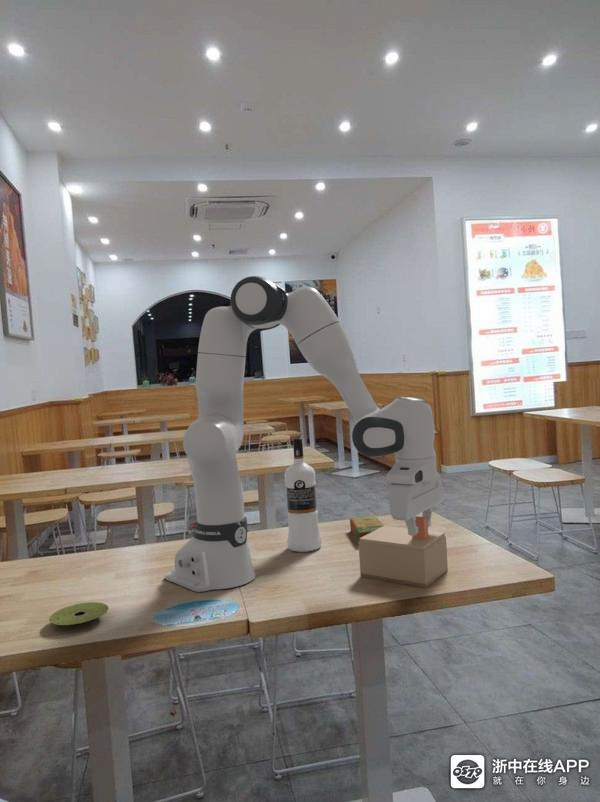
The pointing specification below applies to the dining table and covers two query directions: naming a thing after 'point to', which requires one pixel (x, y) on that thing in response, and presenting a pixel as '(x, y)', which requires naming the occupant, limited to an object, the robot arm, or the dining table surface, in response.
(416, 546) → the box lid
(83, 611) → the green disc
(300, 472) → the vodka
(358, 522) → the carton
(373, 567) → the brown carton
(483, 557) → the dining table surface
